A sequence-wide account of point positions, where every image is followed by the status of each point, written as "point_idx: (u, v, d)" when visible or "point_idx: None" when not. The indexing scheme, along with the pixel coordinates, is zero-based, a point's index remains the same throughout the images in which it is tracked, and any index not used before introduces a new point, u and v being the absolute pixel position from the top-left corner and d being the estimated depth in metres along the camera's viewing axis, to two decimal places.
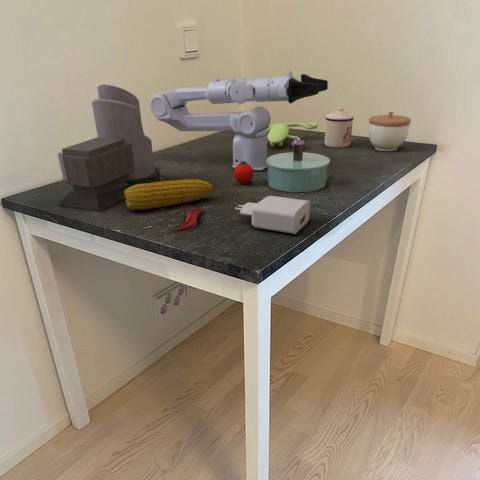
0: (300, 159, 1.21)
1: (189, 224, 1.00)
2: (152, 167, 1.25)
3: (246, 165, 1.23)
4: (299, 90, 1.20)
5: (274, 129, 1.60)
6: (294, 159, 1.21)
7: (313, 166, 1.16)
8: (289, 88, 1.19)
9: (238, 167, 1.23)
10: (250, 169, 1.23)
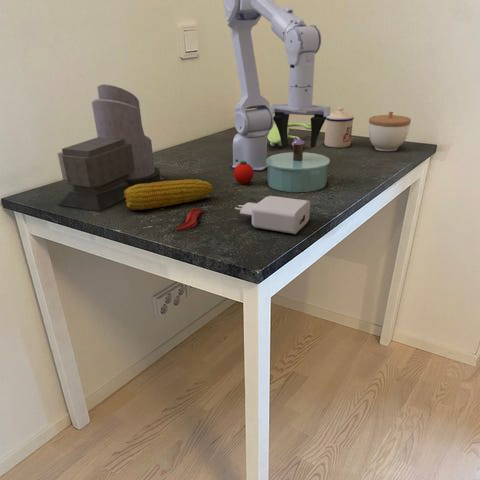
0: (300, 159, 1.21)
1: (189, 224, 1.00)
2: (152, 167, 1.25)
3: (246, 165, 1.23)
4: None
5: (274, 129, 1.60)
6: (294, 159, 1.21)
7: (313, 166, 1.16)
8: None
9: (238, 167, 1.23)
10: (250, 169, 1.23)
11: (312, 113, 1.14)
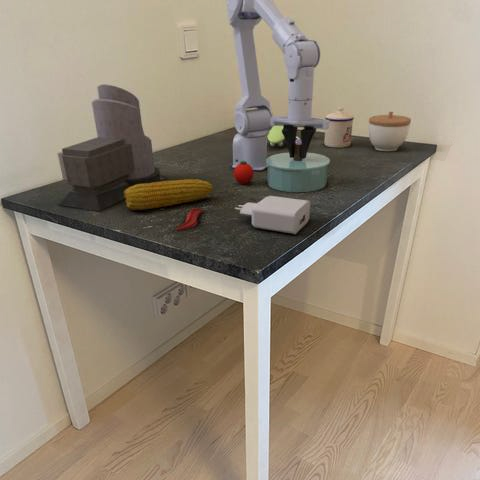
0: (300, 159, 1.21)
1: (189, 224, 1.00)
2: (152, 167, 1.25)
3: (246, 165, 1.23)
4: None
5: (274, 129, 1.60)
6: (294, 159, 1.21)
7: (313, 166, 1.16)
8: None
9: (238, 167, 1.23)
10: (250, 169, 1.23)
11: (311, 126, 1.16)
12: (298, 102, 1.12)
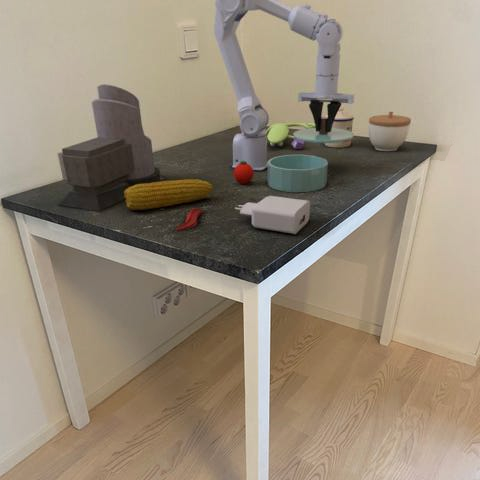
0: (326, 133, 1.29)
1: (189, 224, 1.00)
2: (152, 167, 1.25)
3: (246, 165, 1.23)
4: None
5: (274, 129, 1.60)
6: (320, 133, 1.29)
7: (338, 138, 1.24)
8: None
9: (238, 167, 1.23)
10: (250, 169, 1.23)
11: (337, 100, 1.24)
12: (325, 77, 1.20)
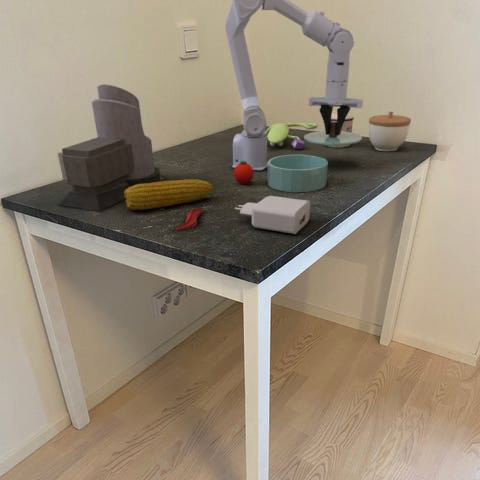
0: (335, 136, 1.34)
1: (189, 224, 1.00)
2: (152, 167, 1.25)
3: (246, 165, 1.23)
4: None
5: (274, 129, 1.60)
6: (330, 136, 1.35)
7: (348, 141, 1.30)
8: None
9: (238, 167, 1.23)
10: (250, 169, 1.23)
11: (346, 105, 1.30)
12: (336, 83, 1.26)
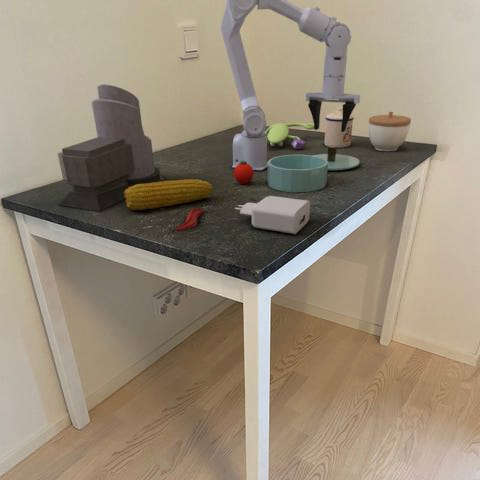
0: (333, 160, 1.38)
1: (189, 224, 1.00)
2: (152, 167, 1.25)
3: (246, 165, 1.23)
4: None
5: (274, 129, 1.60)
6: (328, 160, 1.39)
7: (346, 166, 1.34)
8: None
9: (238, 167, 1.23)
10: (250, 169, 1.23)
11: (343, 100, 1.29)
12: (333, 78, 1.25)
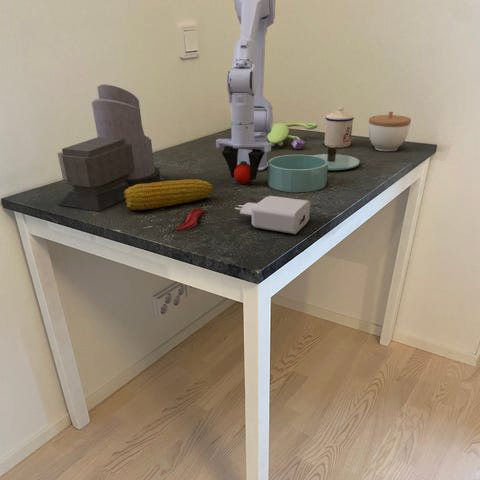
0: (333, 160, 1.38)
1: (189, 224, 1.00)
2: (152, 167, 1.25)
3: (246, 165, 1.23)
4: None
5: (274, 129, 1.60)
6: (328, 160, 1.39)
7: (346, 166, 1.34)
8: None
9: (238, 167, 1.23)
10: None
11: (254, 148, 1.20)
12: (239, 126, 1.16)
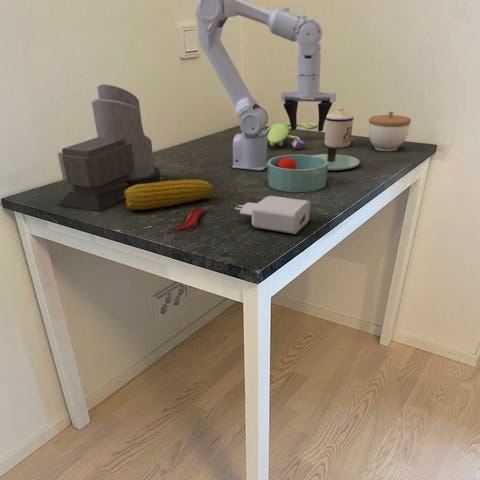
0: (333, 160, 1.38)
1: (189, 224, 1.00)
2: (152, 167, 1.25)
3: None
4: None
5: (274, 129, 1.60)
6: (328, 160, 1.39)
7: (346, 166, 1.34)
8: None
9: None
10: None
11: (319, 99, 1.26)
12: (307, 77, 1.22)
